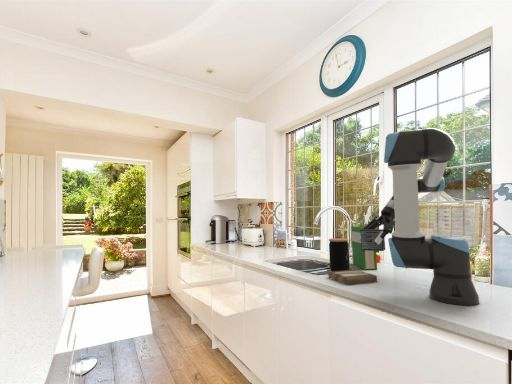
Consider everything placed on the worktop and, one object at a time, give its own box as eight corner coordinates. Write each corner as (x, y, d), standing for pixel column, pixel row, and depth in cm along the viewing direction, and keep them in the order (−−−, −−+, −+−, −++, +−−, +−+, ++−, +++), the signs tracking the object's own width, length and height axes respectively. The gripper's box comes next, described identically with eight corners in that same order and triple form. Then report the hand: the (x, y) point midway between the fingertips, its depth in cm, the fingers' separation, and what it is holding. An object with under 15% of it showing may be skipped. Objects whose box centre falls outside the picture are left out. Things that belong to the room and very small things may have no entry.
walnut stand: (376, 282, 131) (376, 275, 131) (347, 285, 126) (347, 278, 127) (355, 275, 146) (355, 268, 147) (328, 277, 142) (328, 271, 142)
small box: (385, 249, 142) (384, 229, 142) (383, 251, 136) (382, 229, 137) (364, 248, 147) (362, 228, 148) (361, 250, 142) (359, 229, 143)
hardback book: (377, 270, 158) (374, 227, 160) (364, 270, 158) (362, 227, 160) (364, 264, 175) (362, 226, 177) (353, 264, 175) (351, 226, 177)
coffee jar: (351, 273, 150) (349, 240, 151) (330, 273, 152) (329, 240, 154) (348, 269, 160) (347, 238, 162) (329, 269, 163) (328, 238, 164)
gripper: (414, 215, 136) (390, 249, 131) (380, 215, 159) (358, 244, 153) (404, 204, 135) (380, 238, 130) (371, 206, 158) (349, 235, 152)
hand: (368, 241), depth 141 cm, fingers closed on small box, 11 cm apart
